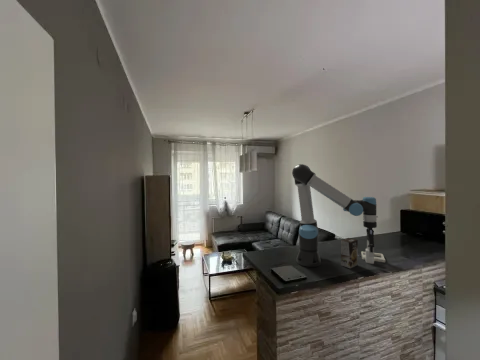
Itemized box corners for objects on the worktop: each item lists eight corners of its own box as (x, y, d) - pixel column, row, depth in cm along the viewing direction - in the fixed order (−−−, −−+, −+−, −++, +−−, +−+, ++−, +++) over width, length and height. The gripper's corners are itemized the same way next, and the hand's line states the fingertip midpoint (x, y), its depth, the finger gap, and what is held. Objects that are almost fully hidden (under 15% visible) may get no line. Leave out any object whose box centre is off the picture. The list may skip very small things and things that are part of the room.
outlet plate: (362, 259, 149) (362, 256, 149) (361, 253, 160) (361, 251, 160) (385, 262, 143) (385, 259, 143) (382, 256, 154) (382, 253, 154)
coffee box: (350, 268, 134) (350, 242, 134) (340, 265, 140) (340, 240, 139) (358, 265, 140) (358, 239, 139) (348, 261, 145) (348, 237, 144)
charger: (366, 262, 143) (366, 250, 143) (365, 260, 147) (365, 248, 147) (373, 263, 141) (374, 251, 141) (373, 261, 145) (373, 249, 145)
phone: (352, 257, 154) (352, 256, 154) (347, 251, 165) (347, 250, 165) (360, 257, 153) (360, 256, 153) (355, 252, 164) (355, 251, 164)
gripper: (379, 225, 131) (379, 261, 131) (374, 217, 153) (374, 248, 154) (364, 224, 134) (365, 259, 134) (362, 217, 156) (362, 246, 157)
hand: (370, 253), depth 144 cm, fingers open, 13 cm apart
